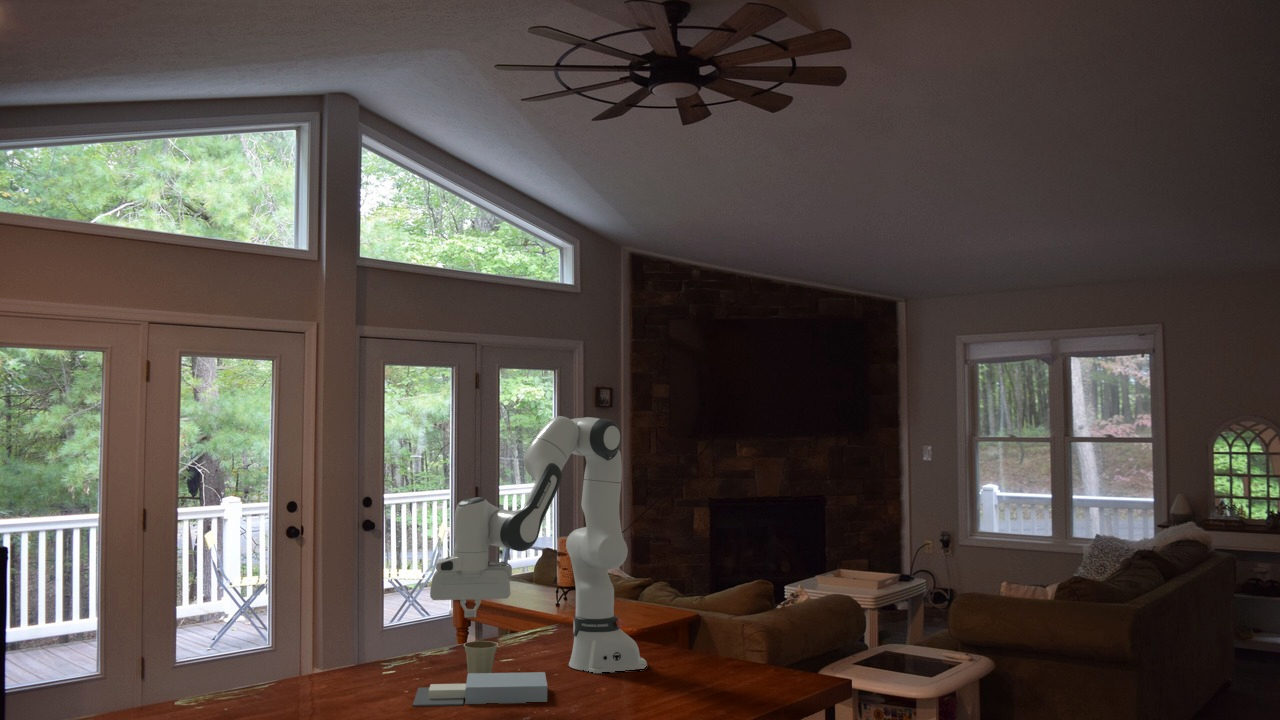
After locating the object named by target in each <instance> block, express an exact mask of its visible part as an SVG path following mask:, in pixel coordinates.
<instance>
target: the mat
mask: <svg viewBox="0 0 1280 720" xmlns="http://www.w3.org/2000/svg"><path fill="white" fill-rule="evenodd" d="M429 688H430V686H427V687H425V686H424V687H417V690H416V693H415V697H414V699H413V703H412V707H442V706H443V707H444V706H445V707H446V706H447V707H448V706H450V707H451V706H453V707H454V706H456V707H457V706H464V702H465V701H464V700H465V698H439V699H429Z"/></svg>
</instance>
